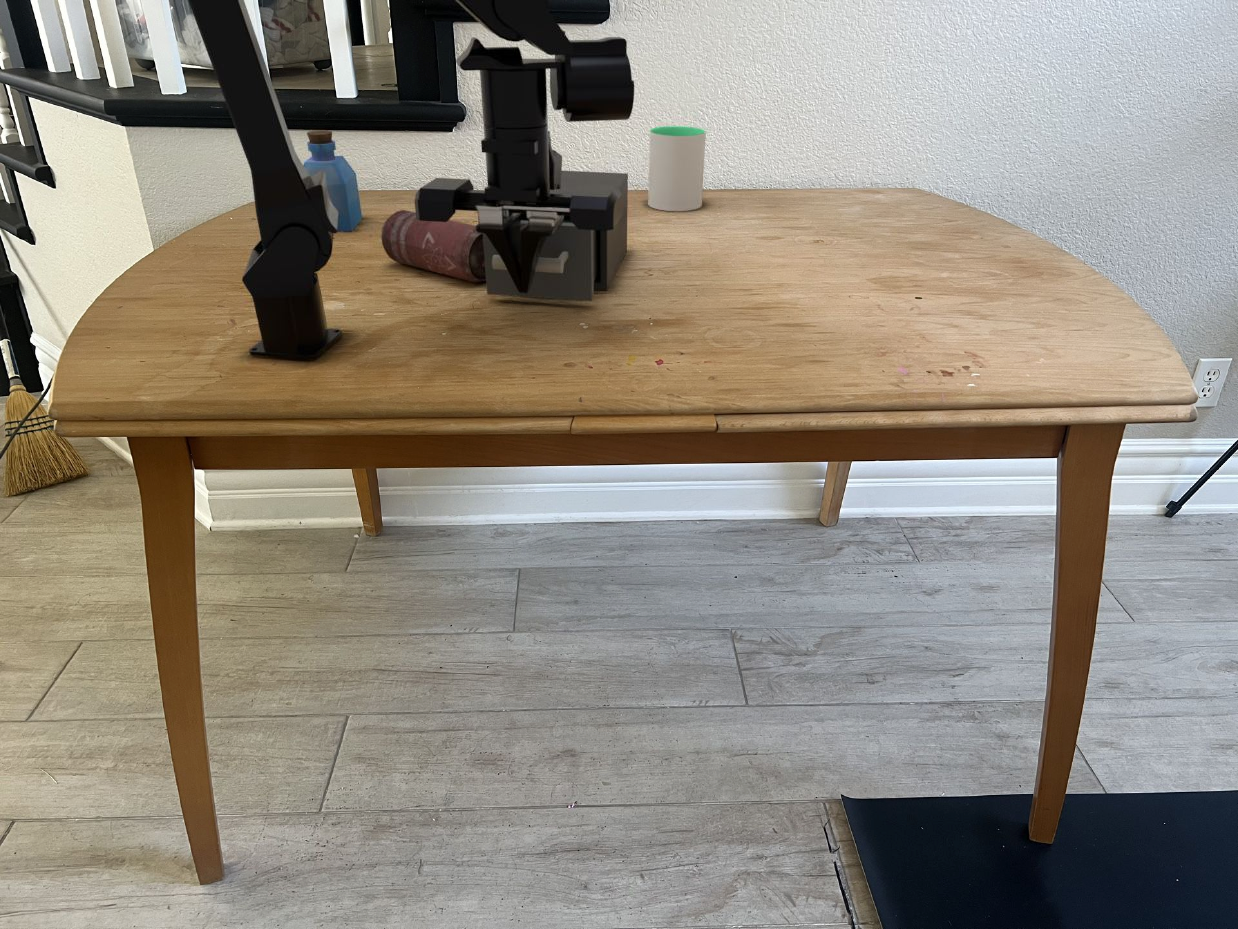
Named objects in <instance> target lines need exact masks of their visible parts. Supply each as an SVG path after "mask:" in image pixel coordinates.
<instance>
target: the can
mask: <svg viewBox="0 0 1238 929" xmlns="http://www.w3.org/2000/svg"><path fill="white" fill-rule="evenodd" d="M380 238H381V245H382V247H383V250H384V252H385V253H386V255H387V256H388V257H389V258H390V259H391V260H393V261H394V262H396V263H399V264H404V265H407V266H410V267H415V268H419V269H421V270H422V269H423V270H425V271H431V272H434V273H436V274H437V273H438V274H442V275H445V276H448V277H453V278H457V279H460V280H464V281H468V282H472V283H480V282H485V281H486V270H485V256H484V242H483V233H478V232H476V225H473V224H469V223H466V222H465V223H464V222H460V221H456V220H451V219H449V220H448V221H447V222H434V221H419V220H418V219H416V211H411V210H405V209H400V210H397V211H395V212H394V213H392V214H391V215H389V217H388V218H387V219H386V220H385V221H384V224H383V226H382V230H381V237H380Z"/></svg>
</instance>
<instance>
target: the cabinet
mask: <svg viewBox="0 0 1238 929" xmlns="http://www.w3.org/2000/svg"><path fill="white" fill-rule="evenodd" d="M628 180H629V173H627V172H626V173H625V172H604V171H603V172H602V171H581V170H562V173H561V188H560V189H555V190H550V194H564V195H573V193H574V192H575V191H576V190H577V189H578V188H579V187H580V186H581V185H600V186H617V188H618V189H619V190H620V192H621V193H622V197H623V215H622V217H621V218H620V220H619V221H618V223H617V225H616V226H615V228H614V229H613V230H608V231H600V272H599V274H598V276H597V277H596V279H595V281H594V291H608V290H609V288H610V285H611V284H612V282H613V280H614V278H615V276H616V274H617V272H618V270H619V268H620V266H621V264H622V262H623V260H624V258H625V256H626V254H627V252H628V206H629V205H628V204H629V203H628V201H629V200H628V197H629V196H628V195H629V194H628V193H629V190H628V189H629V181H628ZM500 203H513V202H512V201H510V202H508V201H506V202H504V201H501V202H500ZM526 204H533V205H534V204H535V203H532V202H530V203H528V202H526Z"/></svg>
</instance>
